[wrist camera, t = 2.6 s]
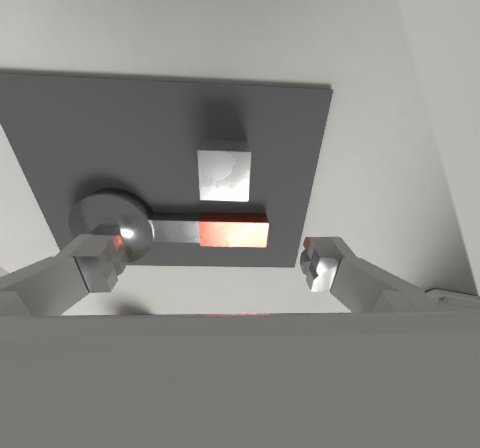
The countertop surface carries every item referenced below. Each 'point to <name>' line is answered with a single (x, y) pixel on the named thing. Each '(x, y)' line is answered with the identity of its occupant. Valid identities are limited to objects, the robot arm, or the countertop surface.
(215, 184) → the light grey block
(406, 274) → the countertop surface
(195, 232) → the ratchet
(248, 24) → the countertop surface
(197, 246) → the mat
